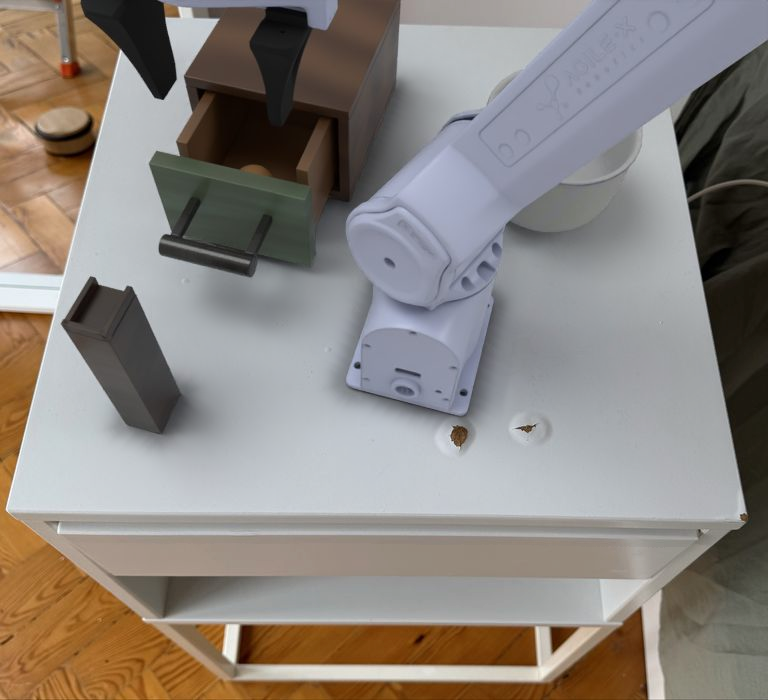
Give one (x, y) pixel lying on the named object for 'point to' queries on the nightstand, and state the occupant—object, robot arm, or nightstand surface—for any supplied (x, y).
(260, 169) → the ball
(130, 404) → the stand
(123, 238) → the nightstand surface
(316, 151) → the drawer
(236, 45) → the cabinet
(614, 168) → the teacup
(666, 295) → the nightstand surface
